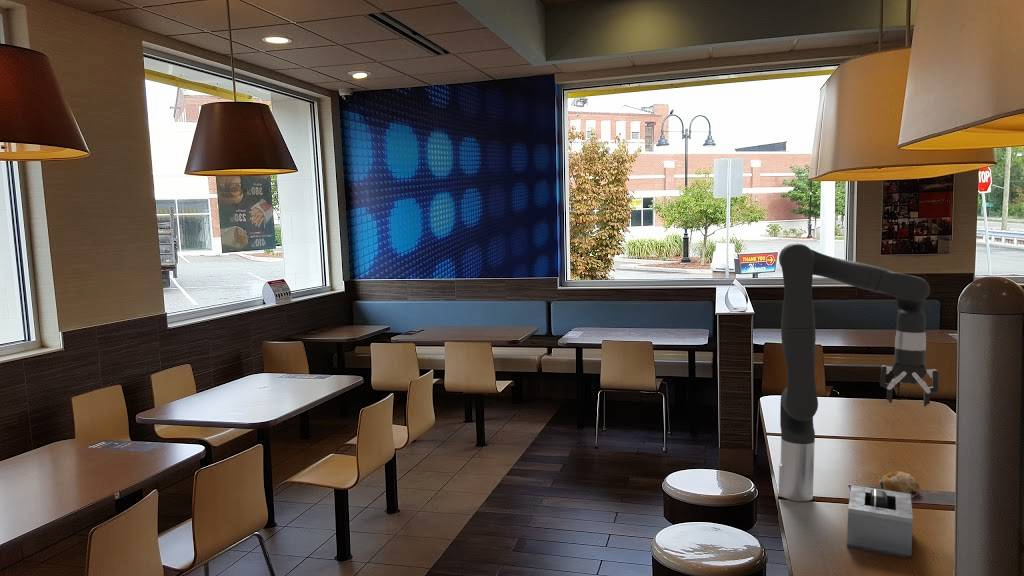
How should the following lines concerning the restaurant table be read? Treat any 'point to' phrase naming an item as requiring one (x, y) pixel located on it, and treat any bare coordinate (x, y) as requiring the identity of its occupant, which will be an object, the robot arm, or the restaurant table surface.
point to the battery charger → (879, 499)
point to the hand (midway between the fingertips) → (907, 404)
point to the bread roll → (900, 483)
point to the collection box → (880, 523)
